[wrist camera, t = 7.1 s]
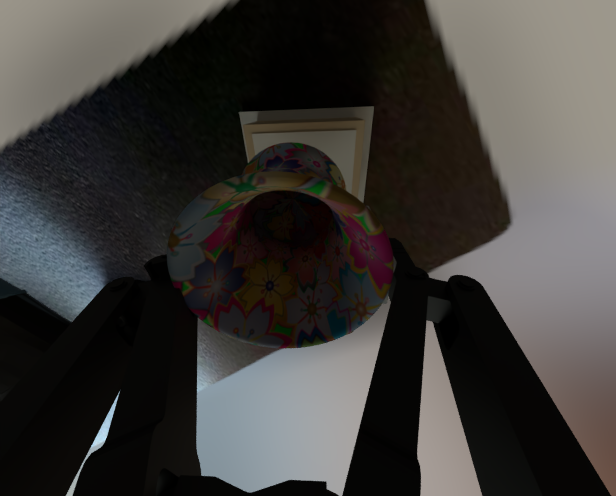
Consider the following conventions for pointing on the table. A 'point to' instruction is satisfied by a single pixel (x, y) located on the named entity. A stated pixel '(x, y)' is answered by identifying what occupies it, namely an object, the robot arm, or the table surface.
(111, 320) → the robot arm
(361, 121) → the cream stepped pedestal
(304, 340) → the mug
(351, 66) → the table surface
